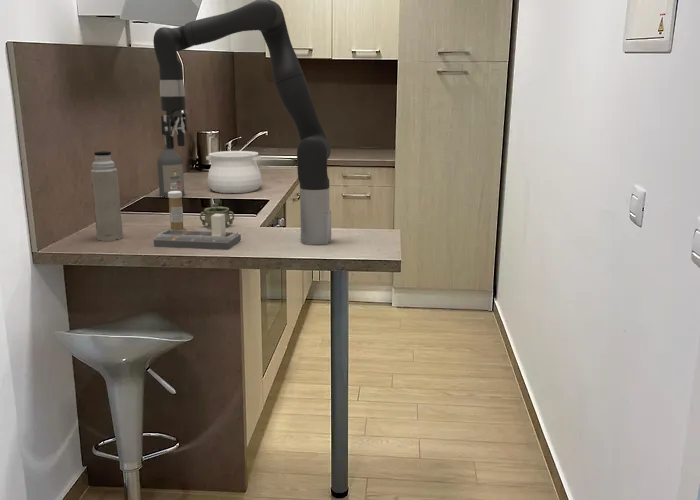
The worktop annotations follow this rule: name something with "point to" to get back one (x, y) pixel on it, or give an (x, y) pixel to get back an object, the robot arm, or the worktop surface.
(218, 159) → the pot
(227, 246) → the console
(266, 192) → the worktop surface
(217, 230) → the block
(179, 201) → the sprinkles bottle
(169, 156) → the liquor
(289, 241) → the worktop surface
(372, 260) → the worktop surface
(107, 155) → the thermos bottle
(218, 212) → the vessel
